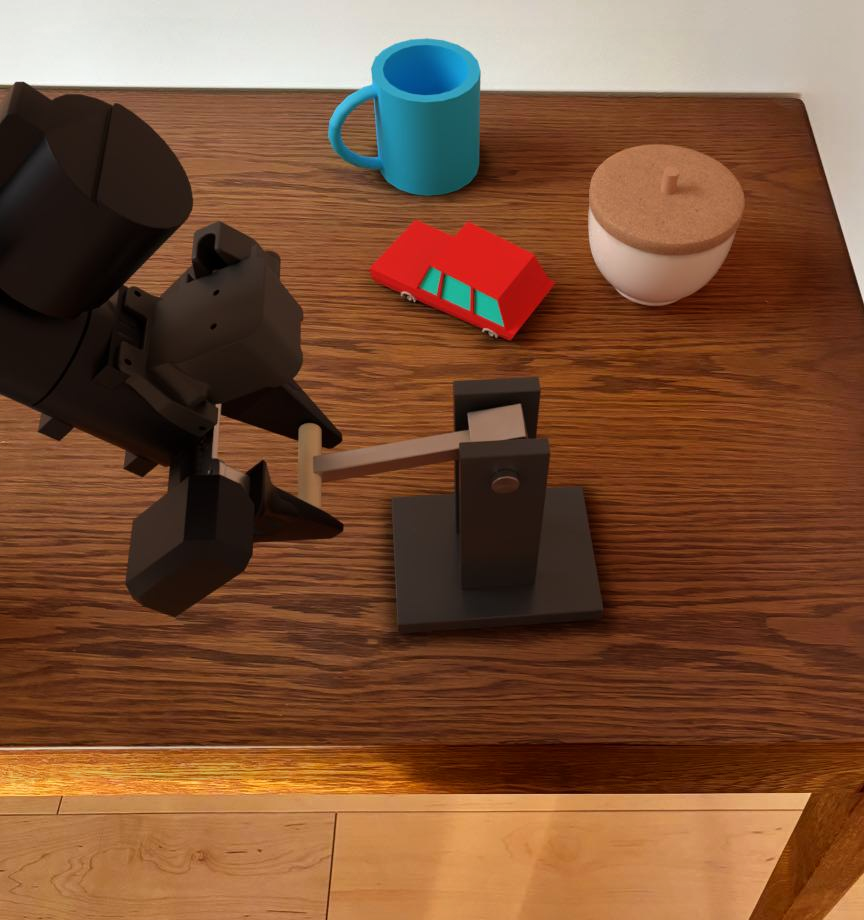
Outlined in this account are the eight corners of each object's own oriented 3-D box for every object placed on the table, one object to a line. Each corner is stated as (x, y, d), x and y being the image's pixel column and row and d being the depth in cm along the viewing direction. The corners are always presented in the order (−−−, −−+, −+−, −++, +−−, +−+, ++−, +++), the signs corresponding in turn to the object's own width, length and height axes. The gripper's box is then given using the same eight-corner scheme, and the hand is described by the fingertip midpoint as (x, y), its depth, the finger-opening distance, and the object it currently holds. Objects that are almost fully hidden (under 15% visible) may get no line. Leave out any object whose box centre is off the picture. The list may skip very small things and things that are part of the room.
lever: (305, 529, 52) (290, 503, 50) (306, 445, 55) (291, 417, 53) (535, 490, 51) (529, 462, 49) (523, 407, 54) (517, 378, 52)
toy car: (418, 236, 78) (416, 192, 74) (555, 294, 75) (560, 251, 71) (370, 286, 74) (366, 243, 71) (512, 349, 71) (514, 307, 68)
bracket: (398, 634, 59) (382, 496, 47) (392, 507, 64) (376, 354, 52) (601, 619, 60) (634, 481, 48) (580, 496, 65) (605, 343, 53)
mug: (461, 124, 85) (461, 31, 78) (492, 184, 81) (495, 91, 74) (322, 150, 83) (309, 55, 76) (346, 213, 79) (335, 119, 72)
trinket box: (630, 348, 72) (651, 243, 64) (552, 256, 77) (562, 149, 69) (750, 298, 75) (783, 193, 67) (667, 213, 80) (690, 106, 72)
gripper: (139, 424, 34) (460, 574, 44) (180, 94, 44) (434, 279, 55) (-17, 560, 40) (299, 665, 50) (51, 241, 50) (302, 383, 60)
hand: (338, 486), depth 54 cm, fingers closed on lever, 5 cm apart
